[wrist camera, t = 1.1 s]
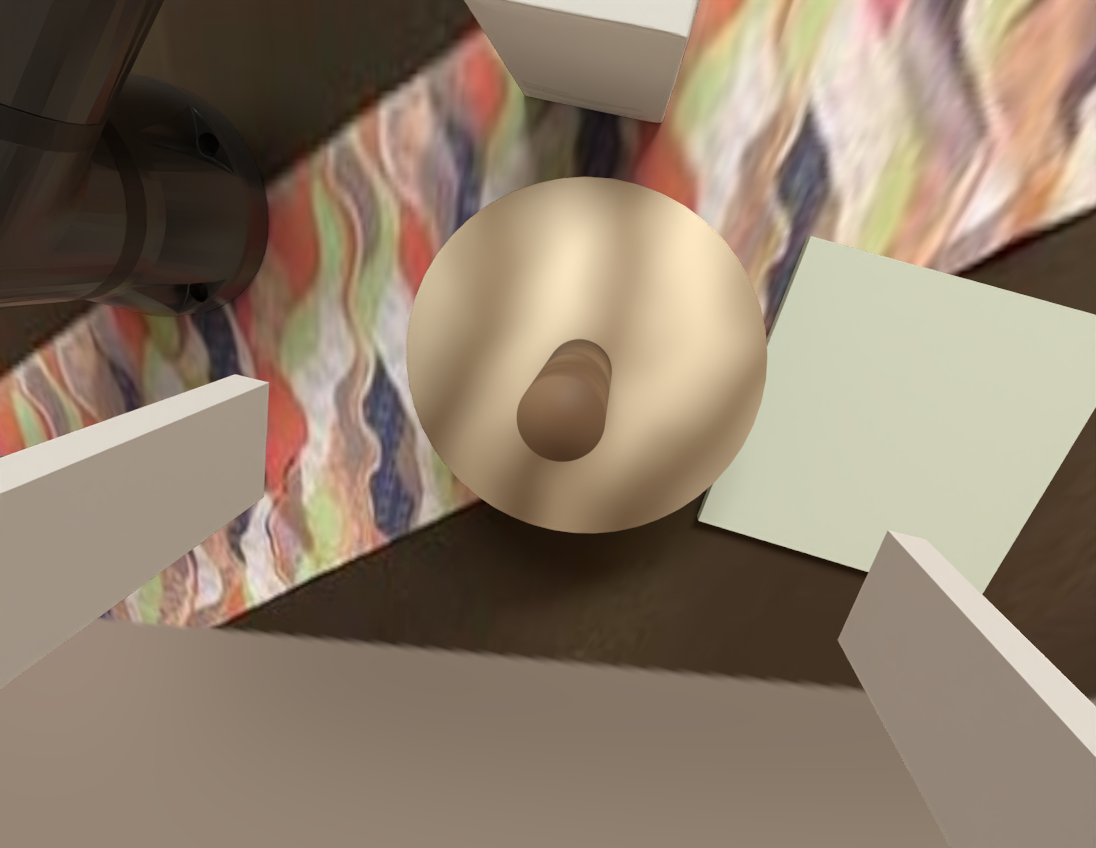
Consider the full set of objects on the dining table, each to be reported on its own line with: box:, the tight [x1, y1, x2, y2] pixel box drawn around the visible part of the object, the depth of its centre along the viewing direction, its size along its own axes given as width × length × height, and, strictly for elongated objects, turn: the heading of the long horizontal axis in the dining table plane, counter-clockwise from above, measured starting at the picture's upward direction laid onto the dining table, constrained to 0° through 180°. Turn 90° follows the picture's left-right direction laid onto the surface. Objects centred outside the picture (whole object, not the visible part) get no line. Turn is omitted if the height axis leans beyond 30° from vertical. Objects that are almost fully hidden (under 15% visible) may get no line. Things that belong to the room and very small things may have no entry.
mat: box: [697, 236, 1096, 594], centre depth 38 cm, size 20×20×1 cm
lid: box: [407, 177, 767, 533], centre depth 27 cm, size 19×19×10 cm
